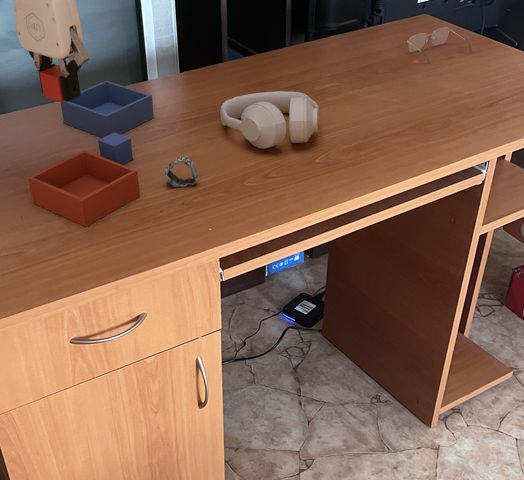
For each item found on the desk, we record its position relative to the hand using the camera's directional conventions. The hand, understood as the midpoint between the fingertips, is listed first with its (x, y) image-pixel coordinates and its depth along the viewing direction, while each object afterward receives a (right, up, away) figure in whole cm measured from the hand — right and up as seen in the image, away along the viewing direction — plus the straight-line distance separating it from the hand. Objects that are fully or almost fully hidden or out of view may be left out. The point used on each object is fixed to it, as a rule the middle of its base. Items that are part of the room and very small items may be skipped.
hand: (61, 94), depth 125 cm
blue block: (+6, -7, +14) cm, 17 cm away
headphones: (+34, 0, +23) cm, 41 cm away
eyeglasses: (+73, +27, +56) cm, 95 cm away
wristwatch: (+18, -13, +7) cm, 24 cm away
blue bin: (+2, +4, +27) cm, 27 cm away
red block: (0, 0, 0) cm, 0 cm away
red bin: (+3, -16, +3) cm, 17 cm away
